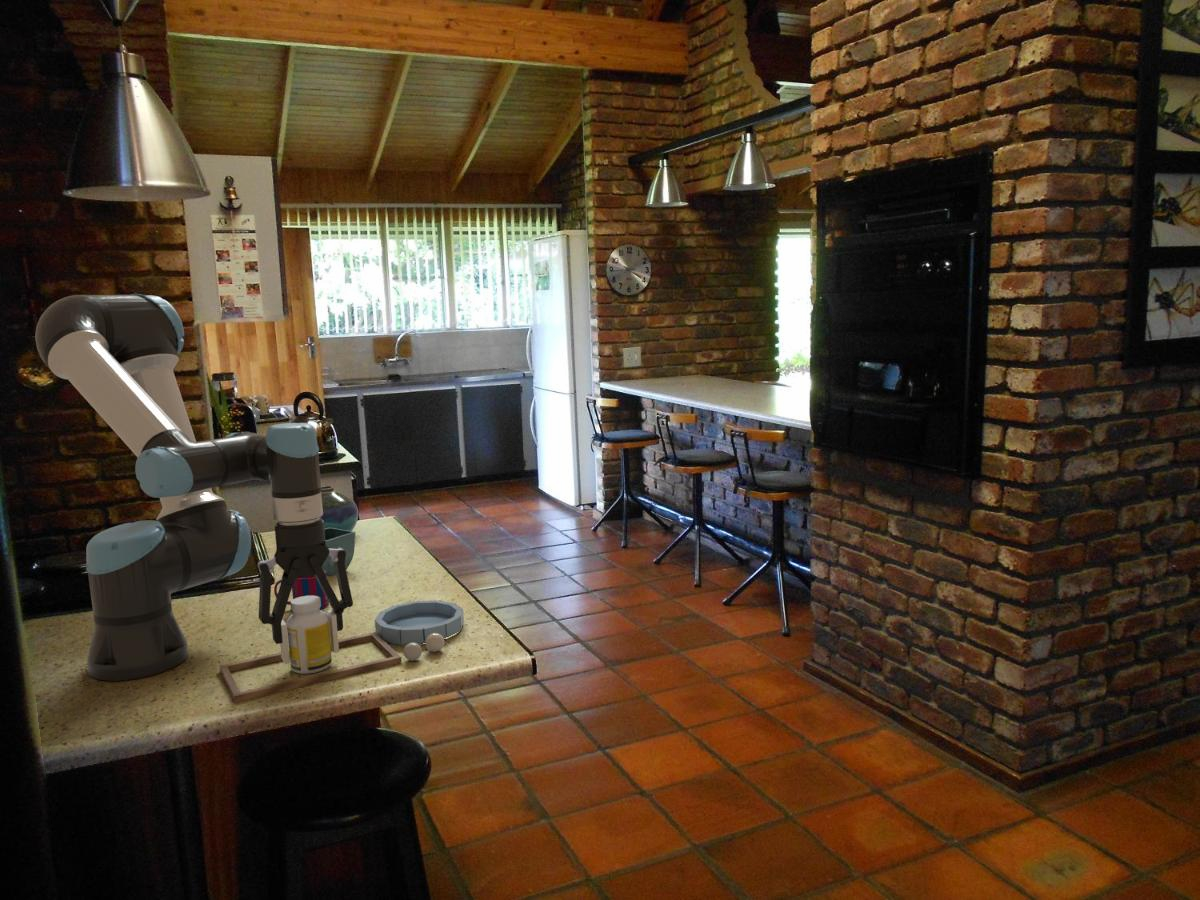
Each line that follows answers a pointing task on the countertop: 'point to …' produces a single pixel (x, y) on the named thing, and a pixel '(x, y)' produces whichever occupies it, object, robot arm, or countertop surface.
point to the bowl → (418, 621)
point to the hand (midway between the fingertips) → (310, 655)
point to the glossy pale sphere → (412, 651)
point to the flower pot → (335, 540)
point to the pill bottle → (308, 636)
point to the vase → (338, 509)
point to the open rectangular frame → (308, 680)
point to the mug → (306, 589)
